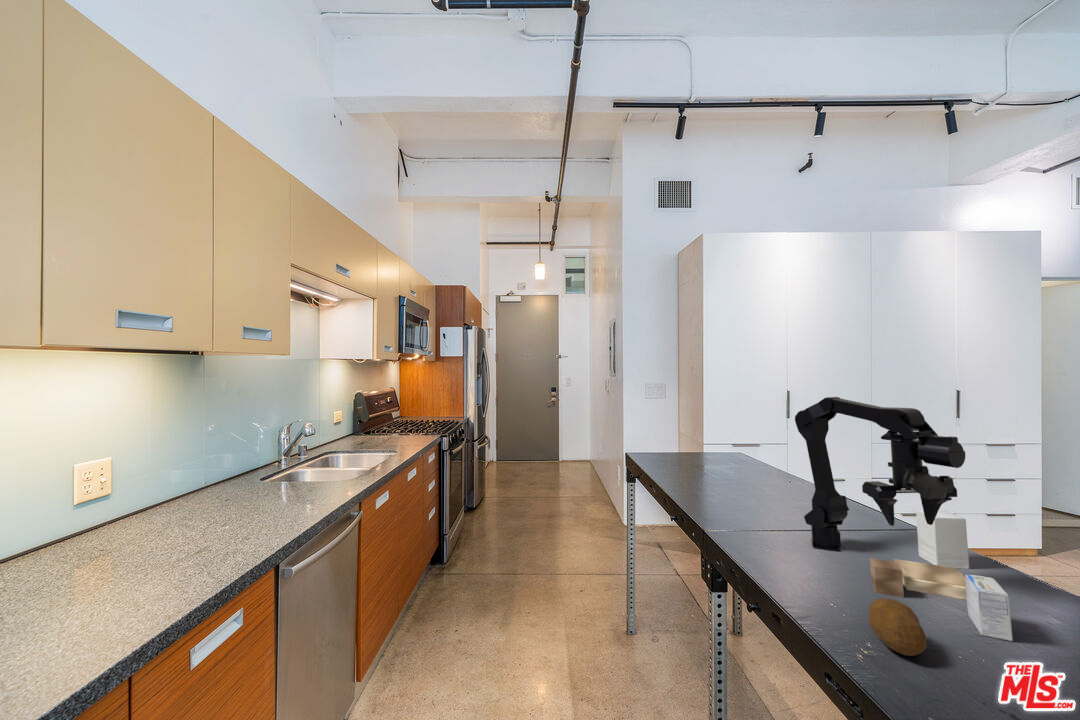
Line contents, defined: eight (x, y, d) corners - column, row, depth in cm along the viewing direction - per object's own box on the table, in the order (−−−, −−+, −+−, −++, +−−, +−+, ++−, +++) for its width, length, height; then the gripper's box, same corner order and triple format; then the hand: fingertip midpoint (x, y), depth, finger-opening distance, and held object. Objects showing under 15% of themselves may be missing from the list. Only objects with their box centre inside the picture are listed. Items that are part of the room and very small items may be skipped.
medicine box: (1013, 642, 80) (1010, 595, 80) (980, 635, 82) (976, 589, 82) (997, 621, 86) (994, 577, 87) (967, 615, 89) (964, 572, 89)
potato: (892, 664, 75) (889, 618, 75) (854, 624, 87) (851, 584, 87) (946, 669, 73) (943, 622, 74) (899, 627, 85) (897, 587, 86)
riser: (906, 589, 100) (906, 577, 100) (894, 568, 110) (893, 558, 110) (977, 601, 94) (976, 588, 94) (957, 578, 104) (956, 566, 104)
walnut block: (875, 593, 99) (874, 566, 99) (871, 583, 103) (870, 558, 103) (903, 597, 96) (902, 570, 97) (898, 587, 101) (896, 561, 101)
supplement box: (970, 569, 109) (967, 518, 109) (936, 567, 110) (933, 517, 111) (949, 557, 116) (946, 509, 116) (917, 555, 117) (914, 508, 118)
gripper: (895, 468, 97) (899, 538, 97) (978, 466, 97) (983, 536, 96) (859, 458, 108) (862, 521, 108) (933, 456, 108) (937, 519, 107)
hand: (910, 524), depth 104 cm, fingers open, 9 cm apart
